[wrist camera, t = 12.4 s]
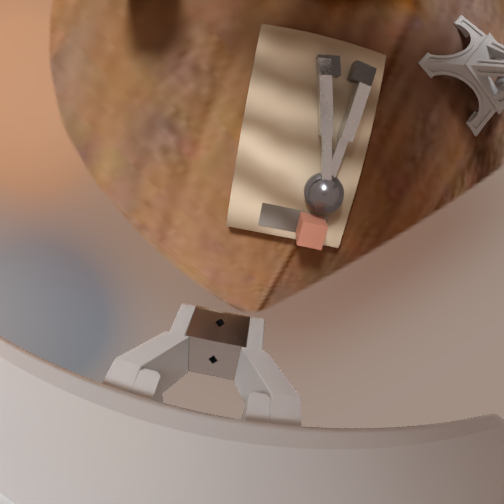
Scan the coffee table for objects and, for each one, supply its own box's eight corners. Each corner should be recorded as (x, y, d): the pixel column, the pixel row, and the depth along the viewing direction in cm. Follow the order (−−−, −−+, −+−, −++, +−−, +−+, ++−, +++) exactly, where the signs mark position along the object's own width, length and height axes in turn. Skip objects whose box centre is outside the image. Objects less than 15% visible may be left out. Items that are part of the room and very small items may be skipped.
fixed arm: (334, 214, 36) (337, 221, 34) (298, 203, 36) (299, 209, 34) (383, 76, 28) (390, 74, 26) (346, 60, 27) (351, 57, 25)
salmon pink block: (300, 211, 36) (302, 221, 33) (323, 216, 36) (328, 227, 33) (295, 233, 37) (296, 245, 34) (317, 237, 37) (321, 250, 34)
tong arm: (338, 207, 35) (342, 213, 34) (307, 207, 36) (308, 213, 34) (339, 58, 27) (343, 55, 25) (304, 57, 27) (306, 53, 26)
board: (262, 27, 28) (261, 23, 26) (382, 57, 28) (386, 55, 26) (227, 221, 40) (225, 226, 38) (336, 242, 40) (338, 248, 38)
